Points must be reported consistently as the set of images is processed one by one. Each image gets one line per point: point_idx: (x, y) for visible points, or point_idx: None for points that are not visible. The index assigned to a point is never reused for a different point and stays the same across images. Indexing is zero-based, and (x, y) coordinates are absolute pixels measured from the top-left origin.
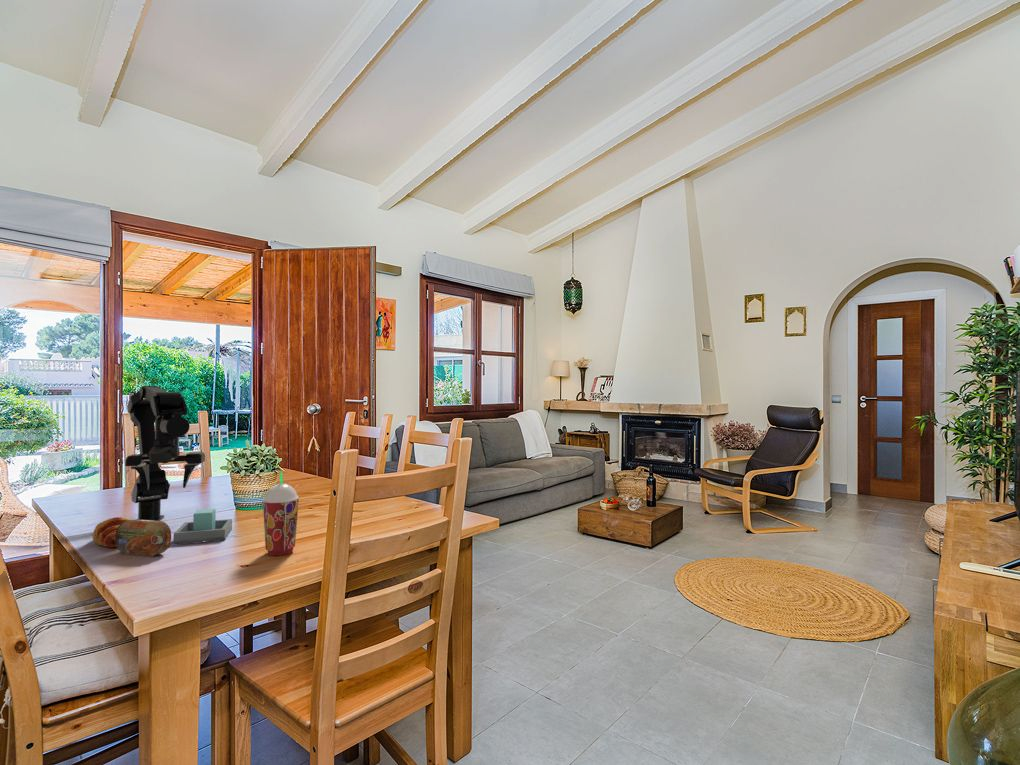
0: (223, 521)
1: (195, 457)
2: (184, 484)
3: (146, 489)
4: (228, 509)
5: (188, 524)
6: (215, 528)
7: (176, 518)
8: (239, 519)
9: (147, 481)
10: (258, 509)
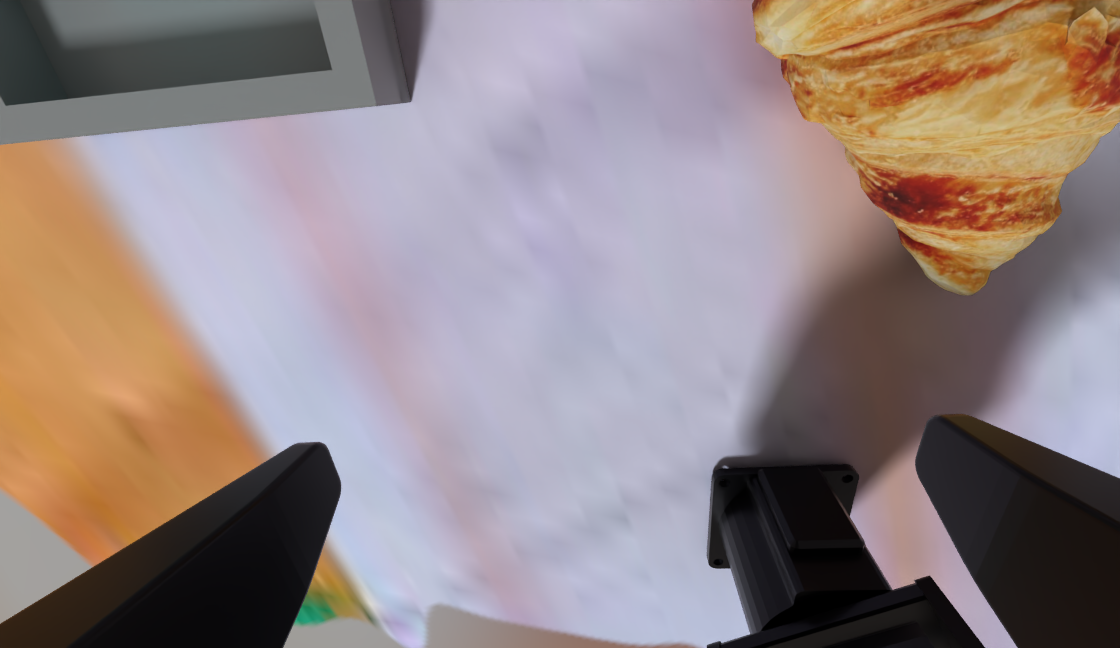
0: (51, 102)
1: None
2: (252, 478)
3: (959, 415)
4: (413, 624)
5: (337, 70)
6: (146, 71)
7: (626, 516)
8: (220, 413)
9: (1100, 572)
10: None
